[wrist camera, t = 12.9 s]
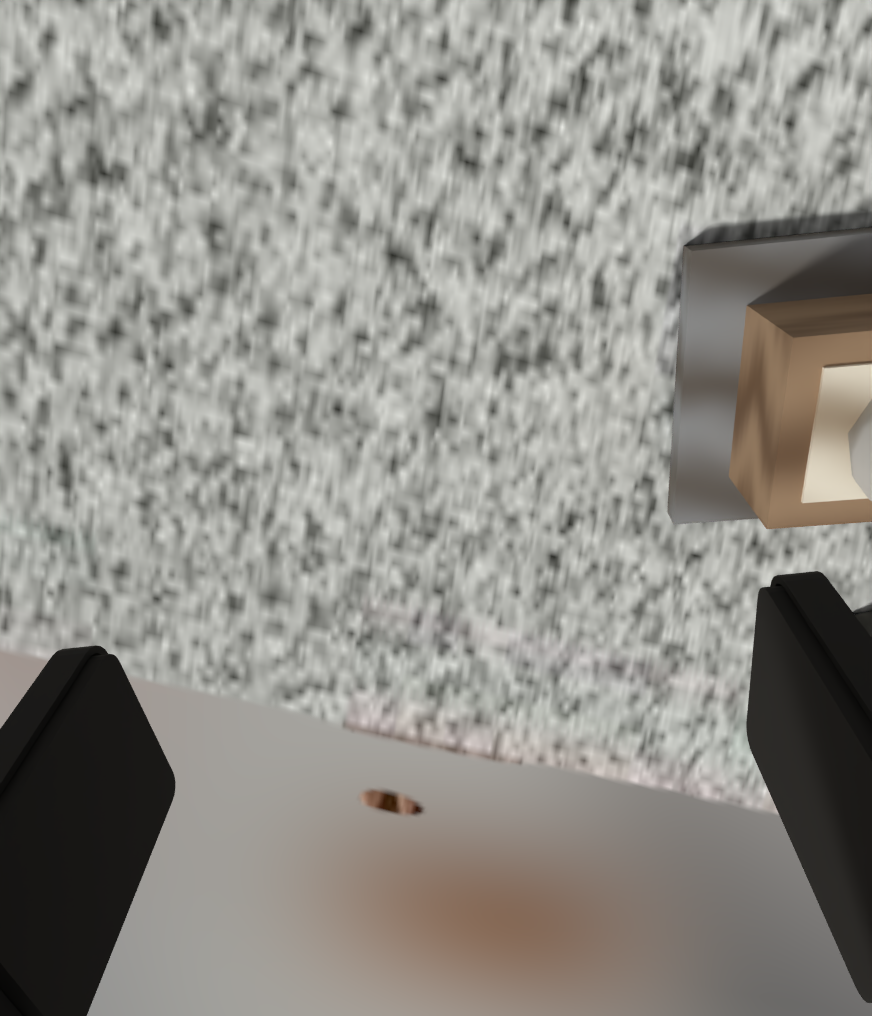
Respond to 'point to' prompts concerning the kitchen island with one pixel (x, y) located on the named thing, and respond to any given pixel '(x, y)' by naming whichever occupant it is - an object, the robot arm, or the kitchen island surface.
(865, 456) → the salt shaker
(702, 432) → the plinth
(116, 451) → the kitchen island surface
